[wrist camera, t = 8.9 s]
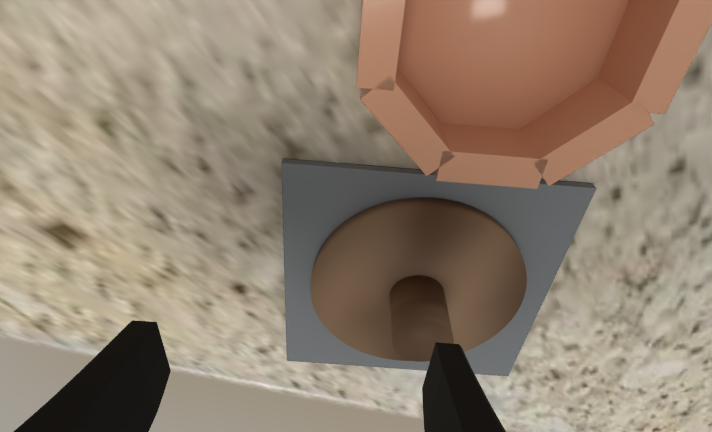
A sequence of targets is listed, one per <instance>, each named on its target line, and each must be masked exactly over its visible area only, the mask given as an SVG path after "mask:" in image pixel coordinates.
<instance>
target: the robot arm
mask: <svg viewBox="0 0 712 432" xmlns="http://www.w3.org/2000/svg"><path fill="white" fill-rule="evenodd" d="M169 374H170V367H169V364H168V360H167V357H166V353H165V350H164V346H163V343H162V339H161V336H160V332H159V329H158V325H157V322H146V321H132V322H130V323H129V324H128V325H127V326H126V327H125V328H124V329H123V330H122V331H121V332H120V333H119V334H118V335H117V336H116V337H115V338H114V339H113V340H112V341H111V342H110V343H109V344H108V345H107V346H106V347H105V348H104V349H103V350H102V351H101V352H100V353H99V354H98V355H97V356H96V357H95V358H94V359H93V360H92V361H91V362H90V363H88V365H86V366H85V367H84V369H82V370H81V371H80V372H79V373H78V374H77V375H76V376H75V377H74V378H73V379H72V380H71V381H70V382H69V383H67V385H65V386H64V387H63V388H62V389H61V390H60V391H59V392H58V393H57V394H56V395H55V396H54V397H52V399H50V400H49V401H48V402H47V403H46V404H45V405H44V406H42V407H41V408H40V409H39V410H38V411H37V412H36V413H35V414H33V415H32V416H31V417H30V418H29V419H28V420H27V421H25V422H24V423H23V424H22V425H21V426H20V427H18V428H17V429H16V430H15V431H14V432H148V431H149V429H150V427H151V425H152V423H153V420H154V418H155V416H156V413H157V411H158V408H159V405H160V402H161V399H162V396H163V393H164V390H165V387H166V384H167V380H168V377H169ZM422 392H423V413H424V429H425V432H506V431H505V430H504V428H503V426H502V424H501V423H500V421H499V419H498V417H497V416H496V414H495V412H494V410H493V409H492V407H491V405H490V403H489V401H488V399H487V398H486V396H485V394H484V392H483V390H482V388H481V386H480V384H479V382H478V380H477V378H476V376H475V374H474V372H473V370H472V368H471V366H470V364H469V362H468V360H467V358H466V355H465V353H464V351H463V349H462V347H461V346H460V345H459V344H451V343H437V342H435V346H434V349H433V353H432V356H431V360H430V363H429V367H428V370H427V374H426V377H425V381H424V384H423V388H422Z"/></svg>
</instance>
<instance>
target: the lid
mask: <svg viewBox="0 0 712 432" xmlns="http://www.w3.org/2000/svg"><path fill="white" fill-rule="evenodd" d="M526 286H527V273H526V267H525V264H524V260H523V257H522V255H521V253H520V251H519V248H518V246H517V245H516V243H515V241H514V239H513V237H512V236H511V235H510V233H509V232H508V231H507V230H506V228H505V227H503V226H502V225H501V224H500V223H499V222H498V221H497V220H496V219H494V218H493V217H491V216H490V215H488V214H487V213H485V212H483V211H481V210H479V209H477V208H475V207H473V206H470V205H467V204H464V203H461V202H458V201H453V200H448V199H442V198H431V197H415V198H405V199H397V200H393V201H389V202H385V203H381V204H378V205H376V206H373V207H370V208H367V209H365V210H363V211H361V212H359V213H357V214H355V215H354V216H352V217H351V218H349V219H348V220H346V221H345V222H343V223H342V224H341V225H340V226H339V227H337V228H336V229H335V230H334V231H333V232H332V233H331V234H330V236H329V237H328V238H327V239H326V240H325V242H324V243H323V245H322V246H321V248H320V250H319V252H318V254H317V256H316V259H315V262H314V266H313V271H312V277H311V289H310V292H311V299H312V303H313V306H314V309H315V312H316V314H317V316H318V317H319V319H320V321H321V322H322V323H323V325H324V326H325V327H326V328H327V329H328V330H329V331H330V332H331V333H332V334H333V335H334V336H335V337H336V338H338V339H339V340H340V341H342V342H343V343H345V344H347V345H348V346H350V347H352V348H354V349H356V350H358V351H361V352H363V353H366V354H369V355H372V356H376V357H380V358H385V359H391V360H399V361H416V362H426V361H430V360H431V356H432V353H433V349H434V346H435V342H437V343H451V344H459V345H460V346H461V347H462V349H463V351H464V352H465V351H468V350H470V349H472V348H475V347H477V346H479V345H481V344H482V343H484V342H486V341H488V340H489V339H491V338H492V337H493V336H495V335H496V334H498V333H499V332H500V331H501V330H502V329H503V328H504V327H505V326H506V325H507V324H508V323H509V322H510V321H511V320H512V319H513V317H514V316H515V314H516V313H517V311H518V310H519V308H520V306H521V304H522V301H523V299H524V296H525V292H526Z"/></svg>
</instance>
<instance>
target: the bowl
mask: <svg viewBox="0 0 712 432" xmlns="http://www.w3.org/2000/svg"><path fill="white" fill-rule="evenodd" d="M711 24H712V0H363V7H362V19H361V32H360V45H359V58H358V71H357V84H356V88H361V93H360V100H361V101H362V102H363V103H364V105H365V106H366V107H367V108H368V109H369V110H370V111H371V113H372V114H373V115H374V116H375V117H376V118H377V120H378V121H379V122H380V123H381V124H382V125H383V126H384V128H385V129H386V130H387V131H388V132H389V133H390V135H391V136H392V137H393V138H394V139H395V140H396V141H397V143H398V144H399V145H400V146H401V147H402V148H403V149H404V151H405V152H406V153H407V154H408V155H409V156H410V158H411V159H412V160H413V161H414V162H415V163H416V164H417V166H418V167H419V168H420V169H421V170H422V171H423V173H424V174H425V175H426V176H428V175H429V174H431V173H432V172H434V174H435V178H436V181H445V182H458V183H470V184H482V185H495V186H507V187H520V188H532V189H537V188H538V186H539V183H540V180H541V178H542V177H543V178H544V180H545V181H546V183H547V184H548V185H549V186H550V185H552V184H553V183H555V182H557V181H558V180H560V179H562V178H564V177H565V176H567V175H569V174H570V173H572V172H574V171H576V170H577V169H579V168H581V167H582V166H584V165H586V164H587V163H589V162H591V161H593V160H594V159H596V158H598V157H599V156H601V155H603V154H605V153H606V152H608V151H610V150H611V149H613V148H615V147H617V146H618V145H620V144H622V143H623V142H625V141H627V140H629V139H630V138H632V137H634V136H635V135H637V134H639V133H640V132H642V131H644V130H646V129H647V128H649V127H651V126H652V125H654V122H653V120H652V118H651V116H650V114H649V113H661V114H665V112H666V110H667V109H668V107H669V105H670V103H671V101H672V99H673V97H674V95H675V93H676V91H677V89H678V87H679V85H680V83H681V81H682V80H683V78H684V76H685V74H686V72H687V70H688V68H689V66H690V64H691V62H692V60H693V58H694V56H695V54H696V53H697V51H698V49H699V47H700V45H701V43H702V41H703V39H704V37H705V35H706V33H707V31H708V29H709V27H710V25H711Z"/></svg>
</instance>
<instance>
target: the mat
mask: <svg viewBox="0 0 712 432" xmlns="http://www.w3.org/2000/svg"><path fill="white" fill-rule="evenodd" d="M595 190H596V187H595V186H594V185H593V184H590V183H577V182H565V181H557V182H555V183H553V184H552V185H550V186H549V185H548V184H547V183H546V181H545V180H540V183H539V186H538V188H537V189H532V188H520V187H507V186H495V185H482V184H470V183H458V182H445V181H436V178H435V174H434V172H432V173H431V174H429V175H428V176H426V175H425V174H424V173H423V171H422V170H417V169H404V168H392V167H380V166H367V165H355V164H343V163H330V162H318V161H306V160H293V159H283V161H282V194H283V231H284V268H285V306H286V343H287V361H299V362H313V363H328V364H342V365H356V366H370V367H384V368H398V369H413V370H428V367H429V363H430V361H426V362H416V361H399V360H391V359H385V358H380V357H376V356H372V355H369V354H366V353H363V352H361V351H358V350H356V349H354V348H352V347H350V346H348V345H347V344H345V343H343V342H342V341H340V340H339V339H338V338H336V337H335V336H334V335H333V334H332V333H331V332H330V331H329V330H328V329H327V328H326V327H325V326H324V325H323V323H322V322H321V321H320V319H319V317H318V316H317V314H316V312H315V309H314V306H313V303H312V299H311V292H310V289H311V277H312V271H313V266H314V262H315V259H316V256H317V254H318V252H319V250H320V248H321V246H322V245H323V243H324V242H325V240H326V239H327V238H328V237H329V236H330V234H331V233H332V232H333V231H334V230H335V229H336V228H337V227H339V226H340V225H341V224H342V223H343V222H345V221H346V220H348V219H349V218H351V217H352V216H354V215H355V214H357V213H359V212H361V211H363V210H365V209H367V208H370V207H373V206H376V205H378V204H381V203H385V202H389V201H393V200H397V199H405V198H415V197H431V198H442V199H448V200H453V201H458V202H461V203H464V204H467V205H470V206H473V207H475V208H477V209H479V210H481V211H483V212H485V213H487V214H488V215H490V216H491V217H493V218H494V219H496V220H497V221H498V222H499V223H500V224H501V225H502V226H503V227H505V228H506V230H507V231H508V232H509V233H510V235H511V236H512V237H513V239H514V241H515V243H516V245H517V246H518V248H519V251H520V253H521V255H522V257H523V260H524V264H525V267H526V273H527V286H526V292H525V296H524V299H523V301H522V304H521V306H520V308H519V310H518V311H517V313H516V314H515V316H514V317H513V319H512V320H511V321H510V322H509V323H508V324H507V325H506V326H505V327H504V328H503V329H502V330H501V331H500V332H499V333H498V334H496V335H495V336H493V337H492V338H491V339H489V340H488V341H486V342H484V343H482V344H481V345H479V346H477V347H475V348H472V349H470V350H468V351H465V352H464V353H465V355H466V358H467V360H468V362H469V364H470V366H471V368H472V370H473V372H474V374H483V375H498V376H508V375H509V373H510V371H511V369H512V367H513V364H514V362H515V360H516V358H517V356H518V354H519V352H520V350H521V347H522V345H523V343H524V341H525V339H526V337H527V335H528V333H529V330H530V328H531V326H532V324H533V322H534V320H535V318H536V316H537V313H538V311H539V309H540V307H541V305H542V303H543V301H544V299H545V296H546V294H547V292H548V290H549V288H550V286H551V284H552V282H553V279H554V277H555V275H556V273H557V271H558V269H559V267H560V265H561V262H562V260H563V258H564V256H565V254H566V252H567V250H568V248H569V245H570V243H571V241H572V239H573V237H574V235H575V233H576V231H577V228H578V226H579V224H580V222H581V220H582V218H583V216H584V214H585V211H586V209H587V207H588V205H589V203H590V201H591V199H592V197H593V194H594V192H595Z"/></svg>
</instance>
